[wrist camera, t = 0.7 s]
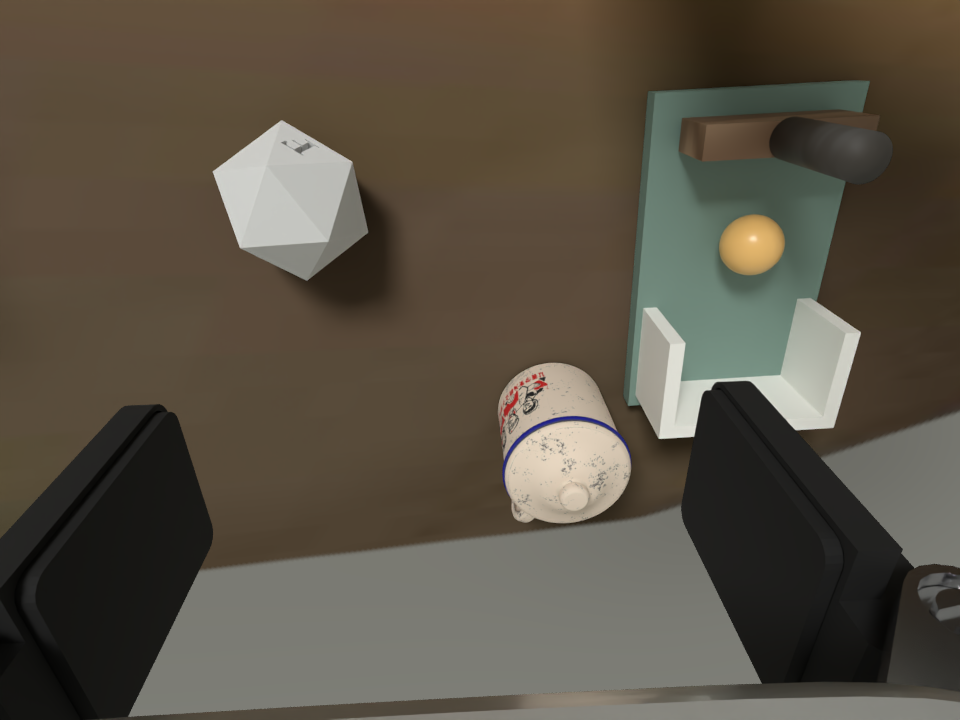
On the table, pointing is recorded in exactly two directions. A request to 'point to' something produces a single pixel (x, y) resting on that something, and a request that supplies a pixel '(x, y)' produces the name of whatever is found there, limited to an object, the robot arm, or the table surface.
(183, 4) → the table surface
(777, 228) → the ball
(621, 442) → the teacup with lid
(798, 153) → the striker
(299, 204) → the die
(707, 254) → the game board
